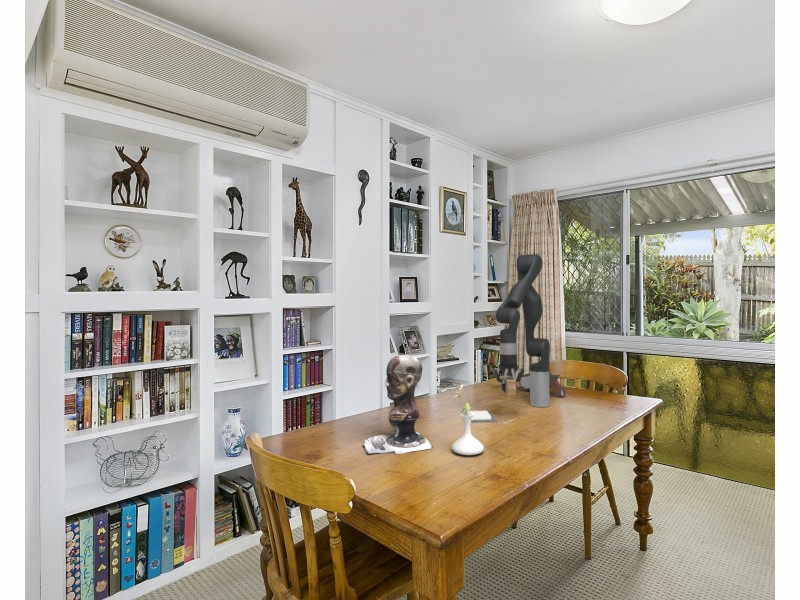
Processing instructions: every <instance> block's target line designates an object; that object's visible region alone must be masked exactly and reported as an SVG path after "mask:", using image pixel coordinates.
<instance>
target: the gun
mask: <svg viewBox="0 0 800 600" xmlns="http://www.w3.org/2000/svg"><path fill="white" fill-rule="evenodd" d="M559 377H561V374H559V373H558V374H554V372H553V371H552V372H551V369H550V368H549V389H551V391H552V393H553V394H552V396H553V397H554V398H556V397H557V398H558V397H563V396H566V395H567V392H566V388H565V387H564V385H563V384H561V383H560V382H559V381H558V378H559ZM516 384H517V388H518V390H520V391H530V372H529V373H525V374H523V375H522V378H521V381H520V382H517V383H516Z"/></svg>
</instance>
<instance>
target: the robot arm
mask: <svg viewBox="0 0 800 600" xmlns="http://www.w3.org/2000/svg"><path fill="white" fill-rule="evenodd" d="M543 264H544V263H543V259H542V256H541V255H540V254H538V253H537V254H519V255H518V257H517V258H516V271H517V276H518V281H517V282H516V283H515V284H513V286H512V287H511V288H510V291H509V292H508V295H507V297H506V299H505V300H504V301H503V302H502V303H501V304H500V306H498V308H497V310H496V312H495V319H496V322H497V323H499V324H503V325H504V324H505V325H507V326H508V327H507V328H503V329H501V330H500V332H499V366H498V368H497V367H496V368H493V370H492V371H493V373H494V376H495V379H496V381H497V382H498V383H501V391H503V393H505V392H506V389H505V380H506V377H511V378H512V379H513V380H515V381H516V384H518V383H519V382H520V381H521V378H522V375H524V372H525V369H523V368H522V367H519V365H518V346H517V332H518V327H519V323H520V319H521V313H520V311H519V308H521V307H522V313H523V321H524V322H523V323H524V330H525V336H524V337H525V338H524V339H525V350H526V355H528V356H529V357H536V358H540V360H539V361H538V362H532V363H531V364H530V365H529V373H530V390H529V405H530V406H532V407H536V408H548V407H550V406H551V405H550V398H551V397H550V395H551V393H550V392H551V391H550V388H549V369H550V357H551V356H550V354H551V343H550V340H549V339H548V338H541V337H540V338H538V337H535V329H536V327H537V324H538V323H539V321H540V320H541V318H542V315H543V313H544V311H543V300H542V297H541V296H540V294H539V293H538V292H537V290H536V289H535V288H534V286H533V283H534V282H535V280H537V277H538V276H539V274H540V273H541V271H542V269H543ZM516 372H518V374H517V376H516ZM499 373H501V377H500V375H499ZM517 382H518V383H517Z"/></svg>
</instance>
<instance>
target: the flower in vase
mask: <svg viewBox="0 0 800 600" xmlns="http://www.w3.org/2000/svg"><path fill="white" fill-rule="evenodd" d="M463 388H464V384H461V385H460V386H459V388H458V391H456V393H455V396H454V397H453V398H452V401H451V404H452V405H453V404H455V403H456V401H457V400H458V398H461V400H462V402H463V408H462V409H461V411H460V414H459V415H460V416H461V418H462V421H463V427H464V429H463V434H462V435H461V436H460V437H459V438H458V439H456V440H455V441H454V442H453V444H452V445H451V449H452V451H453V452H455V453H457V454H459V455H463V456H475V455H478V454H481V453H483V452H484V450H485V447H484V444H483V443H482V442H481V441H479V440H478V439H477V438H476V437H474V436H473V434H472V431H471V428H472V427H471V425H472V423H471V420H472V417H473V416H474V413H470V412H467V411H471V406H470V403H469V401H467V402H466V403H465V400H464V398H463V396H462V391H463Z"/></svg>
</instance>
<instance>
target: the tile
mask: <svg viewBox="0 0 800 600" xmlns="http://www.w3.org/2000/svg"><path fill="white" fill-rule="evenodd" d="M467 412H470V413H474V416H473V417H472V420H471V421H477V420H491V415H490V414H489V413H488V412H489V411H488V410H469V411H467Z"/></svg>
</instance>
